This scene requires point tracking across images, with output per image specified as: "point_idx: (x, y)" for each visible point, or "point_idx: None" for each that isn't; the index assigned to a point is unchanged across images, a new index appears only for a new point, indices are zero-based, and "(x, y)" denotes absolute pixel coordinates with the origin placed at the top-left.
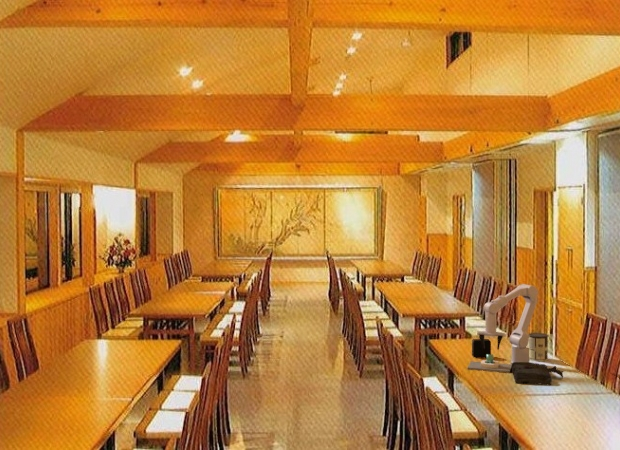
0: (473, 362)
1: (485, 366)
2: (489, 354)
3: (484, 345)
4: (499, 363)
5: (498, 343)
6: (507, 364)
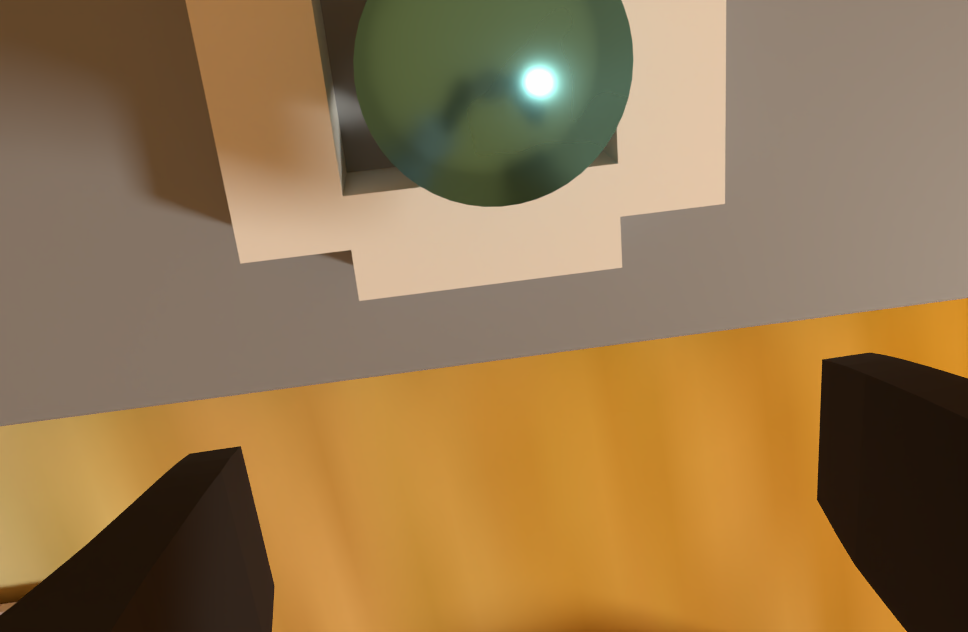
0: (904, 198)
1: None
2: (524, 142)
3: (873, 576)
4: (285, 386)
5: (60, 616)
6: (72, 378)
